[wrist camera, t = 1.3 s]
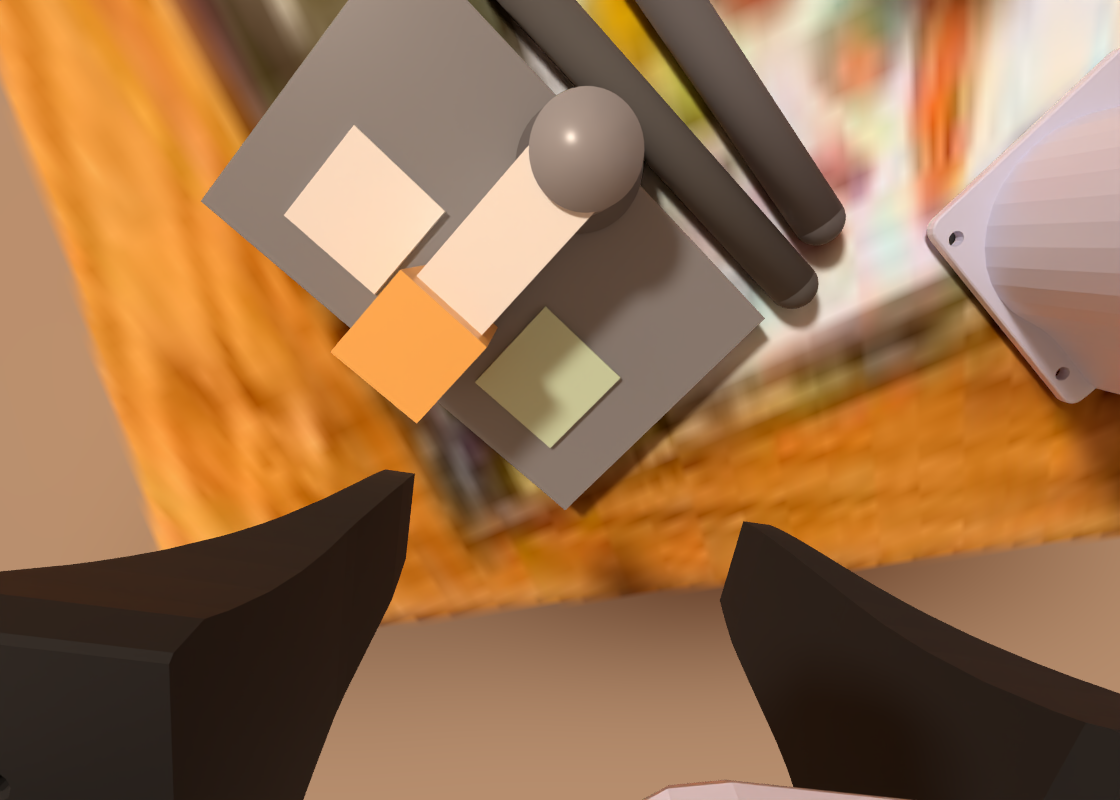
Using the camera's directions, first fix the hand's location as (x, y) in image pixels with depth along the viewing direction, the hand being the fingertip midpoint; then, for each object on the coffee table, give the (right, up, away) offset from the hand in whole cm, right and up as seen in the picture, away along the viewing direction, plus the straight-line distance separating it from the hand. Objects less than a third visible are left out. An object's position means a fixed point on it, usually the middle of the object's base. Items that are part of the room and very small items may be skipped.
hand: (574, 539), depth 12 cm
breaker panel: (-2, +8, +7) cm, 11 cm away
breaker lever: (-2, +8, +6) cm, 10 cm away
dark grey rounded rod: (+5, +13, +6) cm, 15 cm away
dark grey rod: (+3, +12, +6) cm, 14 cm away
